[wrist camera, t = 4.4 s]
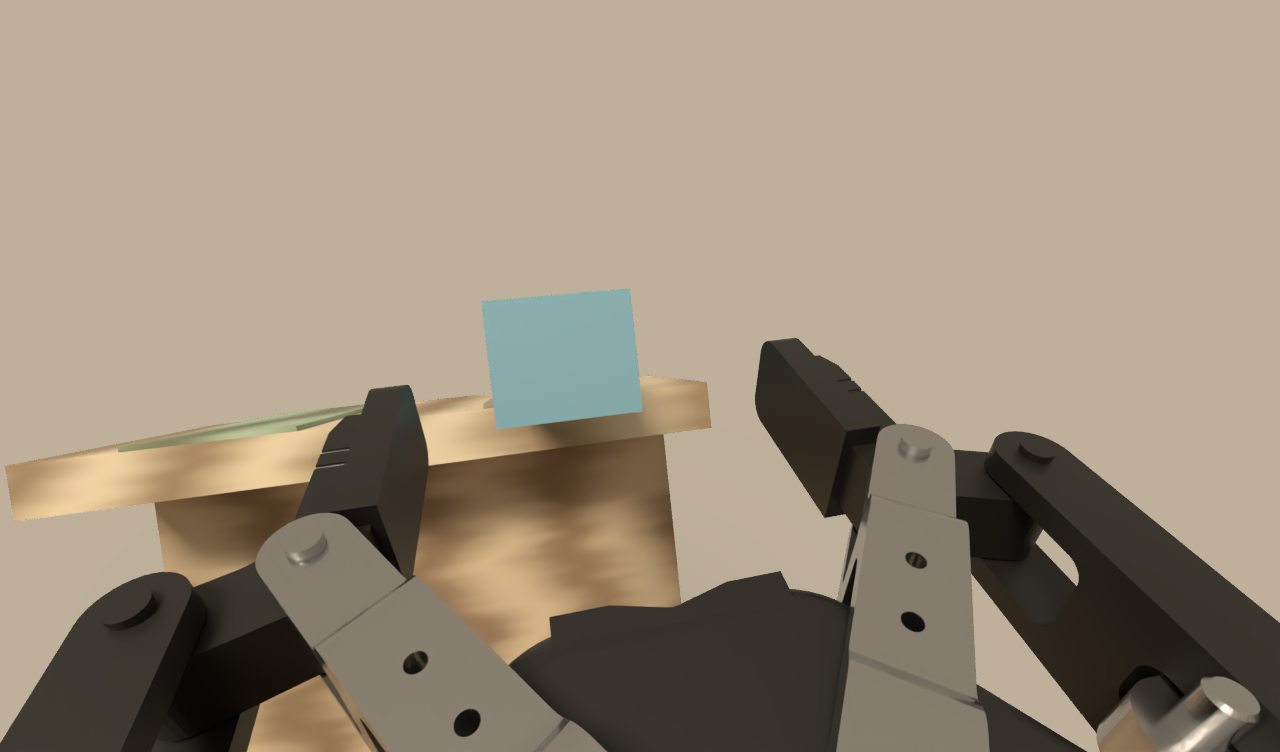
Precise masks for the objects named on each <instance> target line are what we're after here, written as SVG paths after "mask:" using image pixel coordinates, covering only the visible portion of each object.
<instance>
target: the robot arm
mask: <svg viewBox="0 0 1280 752" xmlns="http://www.w3.org/2000/svg"><path fill="white" fill-rule="evenodd" d="M755 405H756V410H757V414H758V417H759V419H760V421H761V422H762V424H763V425H764V427H765V428H766V430H767V431H768V433H769V434H770V436H771V437H772V439H773V441H774V442H775V443H776V445H777V447H778V448H779V450H780V451H781V453H782V454H783V455H784V457H785V459H786V460H787V461H788V463H789V465H790V466H791V468H792V469H793V471H794V472H795V474H796V475H797V477H798V478H799V480H800V481H801V483H802V484H803V486H804V487H805V489H806V490H807V492H808V493H809V495H810V496H811V498H812V499H813V501H814V502H815V504H816V506H817V507H818V509H819V510H820V511H821V513H822V515H823V516H824V517H825V518H826V517H832V516H837V515H843V514H846V516H847V517H848V518H849V520H850V521H851V523H852V526H851V529H850V533H849V538H848V544H847V549H846V554H845V560H844V565H843V571H842V576H841V582H840V588H839V592H838V597H837V600H835V599H832V598H829V597H827V596H824V595H820V594H816V593H813V592H809V591H802V590H796V589H789V587H788V585H787V583H786V581H785V579H784V578H783V575H782V573H781V571H779V572H774V573H769V574H764V575H759V576H754V577H749V578H744V579H739V580H734V581H729V582H726V583H724V584H721V585H719V586H717V587H715V588H713V589H711V590H709V591H707V592H705V593H703V594H701V595H699V596H697V597H694V598H692V599H690V600H688V601H686V602H684V603H682V604H680V605H677V606H674V607H645V606H617V605H608V606H603V607H598V608H593V609H588V610H583V611H578V612H573V613H568V614H563V615H558V616H553V617H549V620H550V631H551V637H549V638H547V639H545V640H543V641H541V642H539V643H537V644H536V645H534V646H532V647H531V648H529V649H528V650H526V651H525V652H523V653H522V654H521V655H520V656H518V657H517V658H516V659H514V660H513V661H512V662H511V663H510V664H509V665H508V664H507V663H506V662H505V661H504V660H503V659H502V658H501V657H500V656H499V655H498V654H497V653H496V652H495V651H494V650H493V649H492V648H491V647H490V646H489V645H488V644H487V643H486V642H485V641H484V640H483V639H482V638H481V637H480V636H479V635H478V634H477V633H476V632H475V631H474V630H473V629H472V628H471V627H470V626H469V625H468V624H467V623H466V622H465V621H464V620H463V619H462V618H461V617H460V616H459V615H458V614H457V613H456V612H455V611H454V610H453V609H452V608H451V607H450V606H449V605H448V604H447V603H446V602H445V601H444V600H443V599H442V598H441V597H440V596H439V595H438V594H437V593H436V592H435V591H434V590H433V589H432V588H431V587H430V586H429V585H428V584H427V583H425V582H424V581H423V580H422V579H421V578H420V577H418V576H416V575H413V572H414V565H415V558H416V551H417V545H418V538H419V531H420V524H421V517H422V510H423V503H424V497H425V490H426V483H427V476H428V468H429V459H428V449H427V443H426V439H425V436H424V432H423V429H422V425H421V421H420V418H419V414H418V411H417V407H416V403H415V400H414V396H413V393H412V390H411V388H410V386H409V385H402V386H393V387H385V388H376V389H371V390H370V391H369V393H368V396H367V398H366V401H365V404H364V407H363V410H362V413H361V414H357V415H349V416H345V417H344V418H343V419H342V420H341V421H340V422H339V423H338V424H337V425H336V426H335V427H334V428H333V429H332V430H331V431H330V432H329V434H328V436H327V439H326V441H325V444H324V446H323V449H322V454H320V456H319V459H318V461H317V464H316V469H314V471H313V474H312V476H311V479H310V481H309V484H308V486H307V489H306V491H305V494H304V496H303V499H302V501H301V504H300V506H299V509H298V511H297V514H296V516H295V519H294V521H293V522H291V523H289V524H287V525H285V526H284V527H282V528H280V529H279V530H278V531H276V532H275V533H274V534H273V535H272V536H270V537H269V538H268V539H267V540H266V542H265V543H264V544H263V545H262V547H261V548H260V550H259V552H258V554H257V557H256V561H255V562H253V563H251V564H249V565H248V566H246V567H243V568H241V569H239V570H236V571H234V572H231V573H229V574H226V575H223V576H221V577H218V578H216V579H213V580H211V581H208V582H205V583H203V584H200V585H198V586H195V587H193V586H192V584H191V583H190V581H189V580H188V578H186V577H185V576H184V575H182V574H179V573H175V572H159V573H153V574H149V575H145V576H142V577H139V578H136V579H133V580H131V581H129V582H127V583H124V584H122V585H121V586H119V587H117V588H115V589H113V590H112V591H110V592H109V593H107V594H105V595H104V596H103V597H101V598H100V599H99V600H97V601H96V602H95V603H93V605H91V606H90V607H89V608H88V609H87V610H86V611H85V612H84V613H83V614H82V615H81V616H80V617H79V619H78V620H77V621H76V623H75V624H74V626H73V627H72V629H71V631H70V632H69V634H68V635H67V637H66V638H65V640H64V642H63V643H62V645H61V647H60V648H59V650H58V651H57V653H56V654H55V656H54V658H53V659H52V661H51V663H50V664H49V666H48V667H47V669H46V671H45V672H44V674H43V675H42V677H41V679H40V680H39V682H38V683H37V685H36V687H35V688H34V690H33V692H32V694H31V695H30V696H29V698H28V699H27V701H26V703H25V704H24V706H23V708H22V709H21V711H20V712H19V714H18V716H17V717H16V719H15V720H14V722H13V724H12V725H11V727H10V728H9V730H8V732H7V733H6V735H5V736H4V738H3V740H2V741H1V743H0V752H247V750H248V746H249V742H250V739H251V735H252V732H253V728H254V724H255V721H256V717H257V714H258V710H259V706H260V704H261V703H263V702H265V701H267V700H269V699H271V698H273V697H275V696H277V695H279V694H281V693H283V692H285V691H287V690H290V689H292V688H294V687H296V686H298V685H300V684H302V683H304V682H306V681H308V680H310V679H312V678H314V677H316V676H318V675H319V677H320V678H321V680H322V681H323V683H324V684H325V686H326V687H327V688H328V690H329V691H330V693H331V694H332V696H333V697H334V699H335V700H336V701H337V703H338V704H339V706H340V707H341V709H342V710H343V711H344V713H345V714H346V716H347V717H348V719H349V720H350V722H351V723H352V724H353V726H354V727H355V729H356V730H357V732H358V733H359V735H360V736H361V737H362V739H363V740H364V742H365V743H366V745H367V746H368V748H369V749H370V751H371V752H1086V751H1085V750H1083V749H1082V748H1080V747H1078V746H1077V745H1075V744H1073V743H1072V742H1070V741H1068V740H1067V739H1065V738H1064V737H1062V736H1060V735H1059V734H1057V733H1056V732H1054V731H1052V730H1051V729H1049V728H1047V727H1046V726H1044V725H1043V724H1041V723H1039V722H1038V721H1036V720H1034V719H1033V718H1031V717H1030V716H1028V715H1026V714H1025V713H1023V712H1021V711H1020V710H1018V709H1016V708H1015V707H1013V706H1012V705H1010V704H1008V703H1007V702H1005V701H1003V700H1002V699H1000V698H999V697H997V696H995V695H994V694H992V693H990V692H989V691H987V690H985V689H984V688H982V687H981V686H979V685H977V684H976V669H975V648H974V626H973V607H972V585H971V574H972V575H973V576H974V578H975V579H976V580H977V581H978V583H979V584H980V585H981V586H982V588H983V589H984V590H985V591H986V593H987V594H988V595H989V597H990V598H991V599H992V600H993V601H994V603H995V604H996V605H997V607H998V608H999V609H1000V611H1001V612H1002V613H1003V614H1004V616H1005V617H1006V618H1007V619H1008V621H1009V622H1010V623H1011V625H1012V626H1013V627H1014V629H1015V630H1016V631H1017V632H1018V633H1019V635H1020V636H1021V637H1022V639H1023V640H1024V641H1025V643H1026V644H1027V645H1028V646H1029V648H1030V649H1031V650H1032V651H1033V653H1034V654H1035V655H1036V656H1037V658H1038V659H1039V660H1040V662H1041V663H1042V664H1043V666H1044V667H1045V668H1046V669H1047V670H1048V672H1049V673H1050V674H1051V676H1052V677H1053V678H1054V679H1055V681H1056V682H1057V683H1058V684H1059V686H1060V687H1061V688H1062V690H1063V691H1064V692H1065V694H1066V695H1067V696H1068V697H1069V699H1070V700H1071V701H1072V702H1073V704H1074V705H1075V706H1076V708H1077V709H1078V710H1079V711H1080V713H1081V714H1082V715H1083V716H1084V718H1085V719H1086V720H1087V722H1088V723H1089V724H1090V725H1091V727H1092V728H1093V729H1094V730H1095V732H1096V733H1097V743H1098V747H1099V750H1100V752H1280V623H1279V622H1278V621H1277V620H1275V619H1274V618H1273V617H1272V616H1270V615H1269V614H1268V613H1267V612H1266V611H1264V610H1263V609H1262V608H1261V607H1259V606H1258V605H1257V604H1256V603H1254V602H1253V601H1252V600H1251V599H1250V598H1248V597H1247V596H1246V595H1245V594H1244V593H1242V592H1241V591H1240V590H1238V589H1237V588H1236V587H1235V586H1234V585H1232V584H1231V583H1230V582H1229V581H1227V580H1226V579H1225V578H1224V577H1223V576H1221V575H1220V574H1219V573H1218V572H1216V571H1215V570H1214V569H1213V568H1211V567H1210V566H1209V565H1208V564H1207V563H1205V562H1204V561H1203V560H1202V559H1200V558H1199V557H1198V556H1197V555H1195V554H1194V553H1193V552H1192V551H1191V550H1189V549H1188V548H1187V547H1186V546H1184V545H1183V544H1182V543H1180V542H1179V541H1178V540H1177V539H1176V538H1175V537H1173V536H1172V535H1171V534H1170V533H1168V532H1167V531H1166V530H1165V529H1164V528H1162V527H1161V526H1160V525H1159V524H1157V523H1156V522H1155V521H1154V520H1152V519H1151V518H1150V517H1149V516H1148V515H1146V514H1145V513H1144V512H1143V511H1141V510H1140V509H1139V508H1138V507H1137V506H1135V505H1134V504H1133V503H1132V502H1130V501H1129V500H1128V499H1127V498H1125V497H1124V496H1123V495H1122V494H1120V493H1119V492H1118V491H1117V490H1116V489H1114V488H1113V487H1112V486H1111V485H1109V484H1108V483H1107V482H1106V481H1104V480H1103V479H1102V478H1101V477H1100V476H1098V475H1097V474H1096V473H1095V472H1093V471H1092V470H1091V469H1089V467H1087V466H1086V465H1085V464H1084V463H1082V462H1081V461H1080V460H1078V459H1077V458H1076V457H1075V456H1074V455H1072V454H1071V453H1070V452H1069V451H1068V450H1066V449H1065V448H1064V447H1062V446H1060V445H1059V444H1057V443H1055V442H1053V441H1051V440H1049V439H1047V438H1044V437H1042V436H1038V435H1035V434H1031V433H1025V432H1015V431H1014V432H1005V433H1002V434H1000V435H998V436H997V437H996V438H995V440H994V442H993V444H992V447H991V449H990V451H989V452H976V451H975V452H974V451H963V450H953V449H952V447H951V446H950V444H949V443H948V442H947V441H946V440H945V439H943V438H942V437H941V436H939V435H937V434H936V433H934V432H932V431H929V430H927V429H924V428H921V427H918V426H913V425H906V424H896V423H895V422H894V421H893V420H892V419H891V418H890V417H889V416H888V415H887V414H886V413H885V412H884V411H883V410H882V409H881V408H880V407H879V406H878V405H877V404H876V403H875V402H874V401H873V400H872V399H871V398H870V397H869V396H868V395H867V394H866V393H865V392H864V391H861V388H860V387H859V386H858V385H857V384H856V383H855V382H854V381H851V378H850V377H849V376H848V375H847V374H846V373H845V372H844V371H843V370H842V369H841V368H840V367H839V366H838V365H836V364H835V363H833V362H831V361H829V360H827V359H825V358H823V357H821V356H814V355H813V354H812V353H811V352H810V351H809V349H808V348H807V347H806V346H805V345H804V344H802V342H801V341H800V340H799V339H797V338H791V339H782V340H774V341H767V342H765V343H764V344H763V346H762V349H761V355H760V363H759V371H758V378H757V385H756V393H755ZM1043 529H1044V531H1045V532H1047V534H1048V535H1049V536H1050V537H1051V538H1053V540H1054V541H1055V542H1056V543H1057V544H1058V545H1059V546H1060V547H1061V548H1062V549H1063V550H1064V551H1065V552H1066V553H1067V554H1068V555H1069V556H1070V557H1071V558H1072V560H1073V561H1074V563H1075V565H1076V567H1077V570H1078V574H1079V582H1078V585H1077V586H1076V585H1075V584H1074V583H1073V582H1072V581H1071V580H1070V579H1069V578H1068V577H1067V576H1066V575H1065V574H1064V573H1063V572H1062V571H1061V570H1060V568H1059V567H1058V566H1057V565H1056V564H1055V563H1054V562H1053V561H1052V560H1051V559H1050V558H1049V557H1048V556H1047V555H1046V554H1045V553H1044V552H1043V551H1042V549H1040V548H1039V546H1038V545H1037V544H1036V541H1037V539H1038V537H1039V535H1040V534H1041V532H1042V530H1043Z"/></svg>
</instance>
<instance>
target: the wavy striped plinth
mask: <svg viewBox="0 0 1280 752" xmlns="http://www.w3.org/2000/svg"><path fill="white" fill-rule="evenodd" d="M639 380H640V389H641V398H642V408H643V411H641V412H633V413H625V414H617V415H609V416H601V417H593V418H585V419H577V420H569V421H562V422H554V423H546V424H538V425H530V426H522V427H514V428H506V429H498V430H497V429H496V420H495V412H494V404H493V395H492V393H490V394H481V395H472V396H464V397H455V398H446V399H438V400H429V401H421V402H415V403H416V407H417V411H418V414H419V418H420V421H421V425H422V429H423V432H424V436H425V439H426V443H427V449H428V459H429V468H428V476H427V483H426V490H425V497H424V503H423V510H422V517H421V524H420V531H419V538H418V545H417V551H416V558H415V565H414V572H413V575H416V576H418V577H420V578H421V579H422V580H423V581H424V582H425V583H427V584H428V585H429V586H430V587H431V588H432V589H433V590H434V591H435V592H436V593H437V594H438V595H439V596H440V597H441V598H442V599H443V600H444V601H445V602H446V603H447V604H448V605H449V606H450V607H451V608H452V609H453V610H454V611H455V612H456V613H457V614H458V615H459V616H460V617H461V618H462V619H463V620H464V621H465V622H466V623H467V624H468V625H469V626H470V627H471V628H472V629H473V630H474V631H475V632H476V633H477V634H478V635H479V636H480V637H481V638H482V639H483V640H484V641H485V642H486V643H487V644H488V645H489V646H490V647H491V648H492V649H493V650H494V651H495V652H496V653H497V654H498V655H499V656H500V657H501V658H502V659H503V660H504V661H505V662H506V663H507V664H508V665H509V664H510V663H511V662H512V661H513V660H514V659H516V658H517V657H518V656H520V655H521V654H522V653H523V652H525V651H526V650H528V649H529V648H531V647H532V646H534V645H536V644H537V643H539V642H541V641H543V640H545V639H547V638H549V637H551V631H550V620H549V617H553V616H558V615H563V614H568V613H573V612H578V611H583V610H588V609H593V608H598V607H603V606H608V605H617V606H645V607H674V606H677V605H680V604H681V598H680V588H679V579H678V569H677V559H676V550H675V541H674V532H673V521H672V512H671V502H670V493H669V483H668V475H667V465H666V455H665V445H664V437H663V434H667V433H674V432H682V431H689V430H697V429H703V428H711V420H710V410H709V400H708V390H707V383H706V382H699V381H691V380H683V379H675V378H666V377H658V376H649V375H647V376H639ZM363 407H364V405H356V406H348V407H339V408H330V409H322V410H313V411H304V412H295V413H286V414H279V415H274V416H269V417H264V418H259V419H254V420H250V421H244V422H238V423H229V424H221V425H213V426H208V427H202V428H198V429H192V430H187V431H182V432H177V433H172V434H167V435H162V436H156V437H151V438H146V439H141V440H136V441H131V442H126V443H121V444H116V445H110V446H106V447H101V448H95V449H90V450H85V451H80V452H75V453H70V454H65V455H59V456H55V457H50V458H44V459H39V460H34V461H29V462H24V463H18V464H13V465H8V466H5V468H6V474H7V480H8V487H9V493H10V499H11V505H12V512H13V518H14V521H21V520H28V519H35V518H43V517H51V516H58V515H66V514H73V513H81V512H88V511H95V510H103V509H110V508H118V507H125V506H133V505H140V504H147V503H155V509H156V516H157V523H158V529H159V536H160V543H161V550H162V557H163V563H164V570H165V572H175V573H179V574H182V575H184V576H185V577H186V578H188V580H189V581H190V583H191V584H192V586H193V587H195V586H198V585H200V584H203V583H205V582H208V581H211V580H213V579H216V578H218V577H221V576H223V575H226V574H229V573H231V572H234V571H236V570H239V569H241V568H243V567H246V566H248V565H249V564H251V563H253V562H255V561H256V557H257V554H258V552H259V550H260V548H261V547H262V545H263V544H264V543H265V542H266V540H267V539H268V538H269V537H270V536H272V535H273V534H274V533H275V532H276V531H278V530H279V529H280V528H282V527H284V526H285V525H287V524H289V523H291V522H293V521H294V519H295V516H296V514H297V511H298V509H299V506H300V504H301V501H302V499H303V496H304V494H305V491H306V489H307V486H308V484H309V481H310V479H311V476H312V474H313V471H314V469H316V464H317V461H318V459H319V456H320V454H322V449H323V446H324V444H325V441H326V439H327V436H328V434H329V432H330V431H331V430H332V429H333V428H334V427H335V426H336V425H337V424H338V423H339V422H340V421H341V420H342V419H343V418H344V417H345V416H349V415H357V414H361V413H362V410H363ZM247 752H371V751H370V749H369V748H368V746H367V745H366V743H365V742H364V740H363V739H362V737H361V736H360V735H359V733H358V732H357V730H356V729H355V727H354V726H353V724H352V723H351V722H350V720H349V719H348V717H347V716H346V714H345V713H344V711H343V710H342V709H341V707H340V706H339V704H338V703H337V701H336V700H335V699H334V697H333V696H332V694H331V693H330V691H329V690H328V688H327V687H326V686H325V684H324V683H323V681H322V680H321V678H320V677H319V675H318V676H316V677H314V678H312V679H310V680H308V681H306V682H304V683H302V684H300V685H298V686H296V687H294V688H292V689H290V690H287V691H285V692H283V693H281V694H279V695H277V696H275V697H273V698H271V699H269V700H267V701H265V702H263V703H261V704H260V706H259V710H258V714H257V717H256V721H255V724H254V728H253V732H252V735H251V739H250V742H249V746H248V750H247Z"/></svg>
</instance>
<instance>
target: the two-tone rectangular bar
mask: <svg viewBox="0 0 1280 752" xmlns="http://www.w3.org/2000/svg"><path fill="white" fill-rule="evenodd" d="M482 311H483V319H484V328H485V336H486V344H487V353H488V361H489V369H490V378H491V387H492V395H493V404H494V412H495V420H496V429H497V430H498V429H506V428H514V427H522V426H530V425H538V424H546V423H554V422H562V421H569V420H577V419H585V418H593V417H601V416H609V415H617V414H625V413H633V412H641V411H643V408H642V398H641V389H640V380H639V371H638V361H637V352H636V343H635V333H634V323H633V314H632V304H631V295H630V289H620V290H609V291H597V292H586V293H574V294H562V295H550V296H540V297H527V298H515V299H506V300H505V299H504V300H493V301H482Z"/></svg>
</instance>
